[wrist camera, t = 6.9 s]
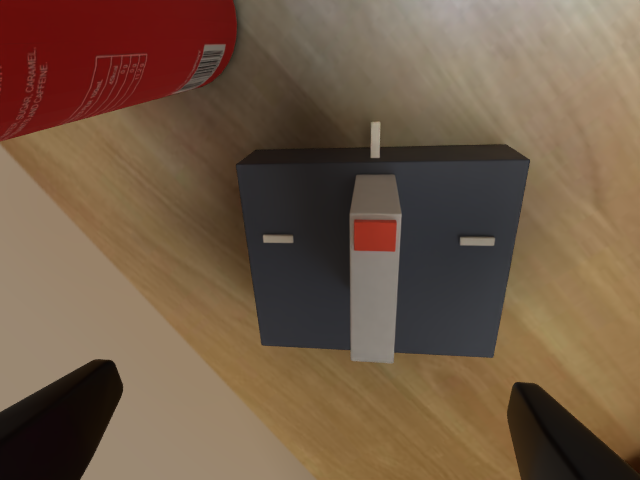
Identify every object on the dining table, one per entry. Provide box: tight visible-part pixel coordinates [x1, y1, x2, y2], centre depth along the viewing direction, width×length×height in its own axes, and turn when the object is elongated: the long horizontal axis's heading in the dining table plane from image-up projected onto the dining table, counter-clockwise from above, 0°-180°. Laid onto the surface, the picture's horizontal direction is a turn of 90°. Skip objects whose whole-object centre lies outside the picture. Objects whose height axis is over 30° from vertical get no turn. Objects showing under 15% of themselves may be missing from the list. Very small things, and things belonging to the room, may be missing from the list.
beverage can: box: [0, 0, 237, 141], centre depth 10 cm, size 6×6×15 cm
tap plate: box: [236, 121, 530, 358], centre depth 19 cm, size 12×12×3 cm
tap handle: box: [350, 174, 402, 363], centre depth 15 cm, size 6×2×5 cm, turn 2°
